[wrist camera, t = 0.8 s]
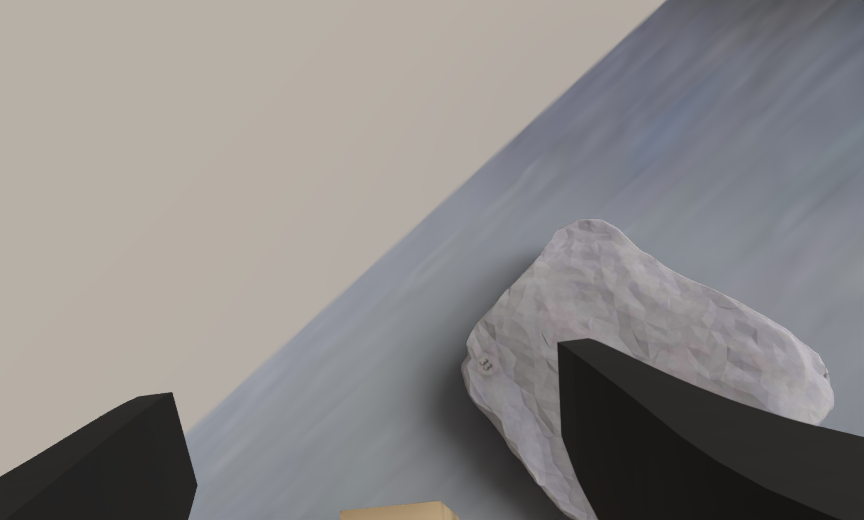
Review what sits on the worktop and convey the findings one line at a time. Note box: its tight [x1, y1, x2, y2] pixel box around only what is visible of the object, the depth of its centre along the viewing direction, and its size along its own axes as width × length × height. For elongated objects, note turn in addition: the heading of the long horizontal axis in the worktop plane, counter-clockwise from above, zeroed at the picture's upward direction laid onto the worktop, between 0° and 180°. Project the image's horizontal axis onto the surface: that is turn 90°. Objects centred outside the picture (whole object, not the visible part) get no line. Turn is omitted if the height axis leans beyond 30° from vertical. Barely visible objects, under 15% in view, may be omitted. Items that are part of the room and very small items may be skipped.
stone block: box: [461, 219, 834, 520], centre depth 22 cm, size 12×5×10 cm
